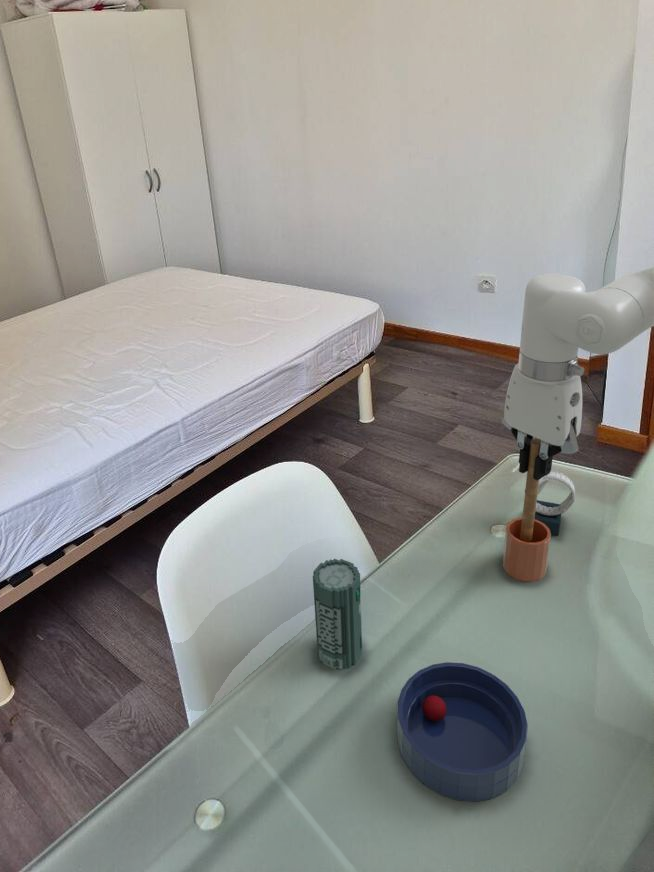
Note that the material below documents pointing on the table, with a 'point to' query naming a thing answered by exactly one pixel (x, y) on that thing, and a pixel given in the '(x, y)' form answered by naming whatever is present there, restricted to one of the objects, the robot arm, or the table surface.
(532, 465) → the stick
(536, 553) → the crock
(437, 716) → the ball
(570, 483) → the watch
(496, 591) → the table surface
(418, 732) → the bowl
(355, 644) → the can
